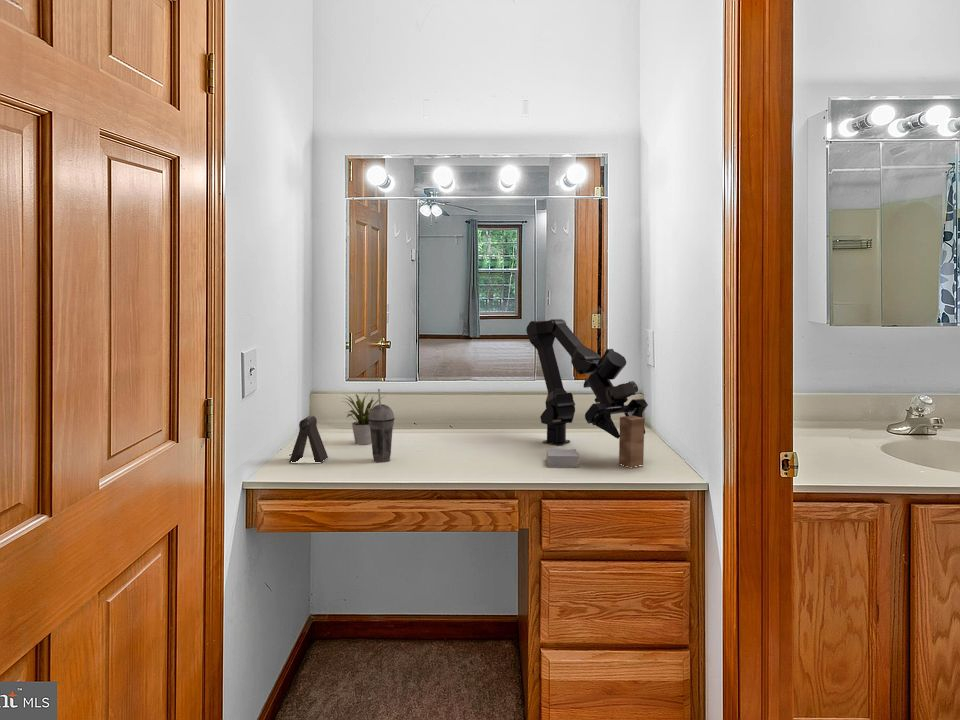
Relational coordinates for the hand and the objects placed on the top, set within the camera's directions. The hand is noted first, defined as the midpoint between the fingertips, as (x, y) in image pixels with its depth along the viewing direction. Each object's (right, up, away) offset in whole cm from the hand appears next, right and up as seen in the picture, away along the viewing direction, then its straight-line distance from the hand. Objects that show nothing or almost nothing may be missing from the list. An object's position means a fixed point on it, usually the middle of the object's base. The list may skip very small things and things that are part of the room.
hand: (631, 435), depth 181 cm
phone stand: (-88, -8, +5) cm, 88 cm away
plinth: (-18, -8, +3) cm, 20 cm away
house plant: (-78, -6, +28) cm, 83 cm away
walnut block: (0, -8, +1) cm, 8 cm away
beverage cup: (-68, -8, +6) cm, 68 cm away
